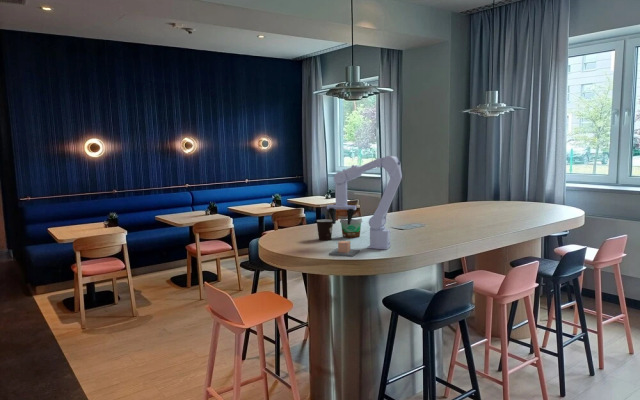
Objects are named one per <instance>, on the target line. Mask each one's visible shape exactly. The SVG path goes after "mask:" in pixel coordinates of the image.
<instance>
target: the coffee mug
mask: <svg viewBox="0 0 640 400" xmlns="http://www.w3.org/2000/svg"><path fill="white" fill-rule="evenodd" d="M333 225H334V224H333V222H332V219H316V227H317V235H318V241H323V242H324V241H325V242H327V241H331V240H332V235H333Z"/></svg>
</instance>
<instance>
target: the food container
mask: <svg viewBox="0 0 640 400" xmlns="http://www.w3.org/2000/svg"><path fill="white" fill-rule="evenodd" d="M339 223H340V224H341V236H342V238H344V239H357V238H360V237H361V227H362V223H363V219H362V218H357V219H354V218H352V219H351V223H350V225H348V219H346V218H345V219H344V218H340V221H339Z"/></svg>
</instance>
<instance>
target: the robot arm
mask: <svg viewBox="0 0 640 400" xmlns="http://www.w3.org/2000/svg"><path fill="white" fill-rule="evenodd" d="M401 163H402V162H401V161H400V160H399V158H398V157H397V156H395V155H386V156H384V157H380V158H376V159H374V160H372V161H369V162H367V163H365V164H363V165H361V166H360V165H355V164H353V165H351V167H349V168H346V169H342V171H337V172H336V173H335V174H334V175H333V181H334V183H335V204H327V205H326V209H327V210H328V211H327V212H328V214H329V216H330V218H331V220H332V222H333V225H335V224H336V222H337V220H336V215H337V214H336V213H337V210H346V214H347V220H348V225H350V223H351V219H353V215H354V214H355V212H356V210H357V205H352V204H351V205H350V204H348V182H350V181H352V180H355V179H357V178H360V177H361V176H362V175H363V173H365V172H367V171H371V170H373V169H375V168H380V169H381V168H383V169H384V170H385V171H386V172H387V174H388V176H389V177H390V178H389V180H388V183H387V184H386V188H385V189H384V192H383V194H382V197H381V199H380V201H379V203H378V205H377V208H376V210H375V212H374V213H373V214H372V216H371V217H370V218H369V219H368V225H369V246H366V247H367V249H375V250H376V249H377V250H388V249H389V248H390V247H391V230H390V229H386V227H385V225H386V222H387V215H388V211H389V208H390V206H391V204H392V202H393V199H394V198H395V195H396V193H397V190H398V188H399V186H400V183H401V181H402V178H403V174H402V167H401V165H402V164H401Z"/></svg>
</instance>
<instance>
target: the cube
mask: <svg viewBox="0 0 640 400" xmlns="http://www.w3.org/2000/svg"><path fill="white" fill-rule="evenodd" d="M337 248H338V252H344V253H348V252H349V251H350V249H351V241H350V240H340V241H337Z"/></svg>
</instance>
